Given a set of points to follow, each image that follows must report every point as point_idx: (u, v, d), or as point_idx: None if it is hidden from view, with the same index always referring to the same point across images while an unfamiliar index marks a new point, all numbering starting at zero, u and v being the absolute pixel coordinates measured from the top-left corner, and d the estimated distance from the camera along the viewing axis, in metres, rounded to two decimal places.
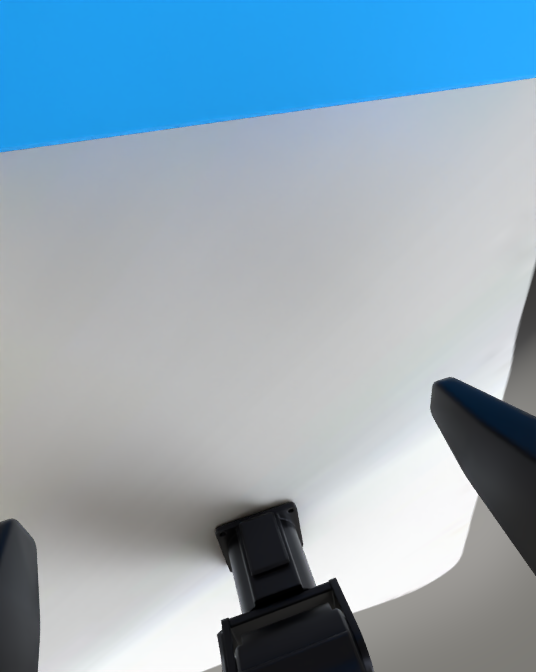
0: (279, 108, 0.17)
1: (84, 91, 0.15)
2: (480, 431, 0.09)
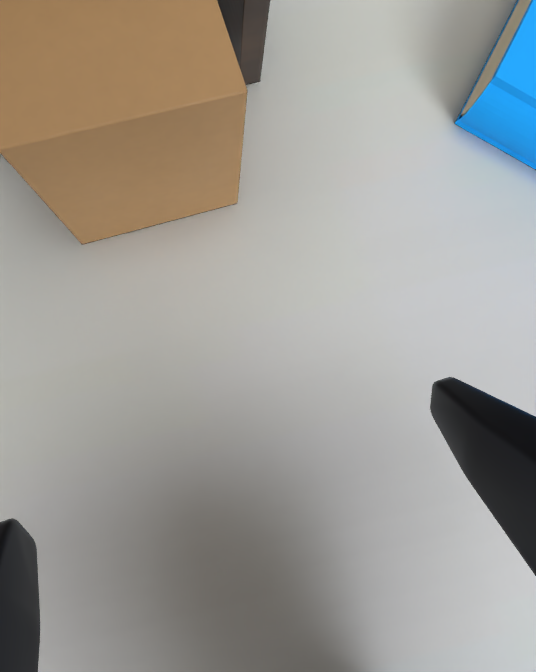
0: None
1: None
2: (480, 431, 0.09)
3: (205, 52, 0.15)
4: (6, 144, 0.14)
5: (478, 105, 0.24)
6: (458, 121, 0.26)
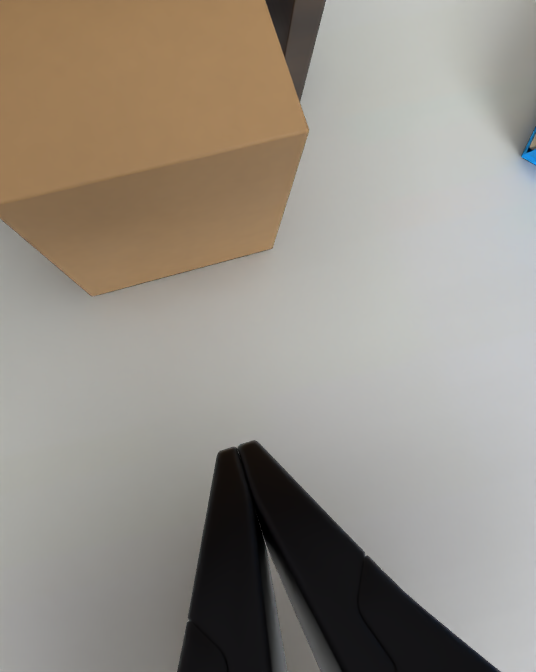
0: None
1: None
2: (256, 508, 0.08)
3: (255, 81, 0.12)
4: None
5: None
6: (526, 154, 0.22)
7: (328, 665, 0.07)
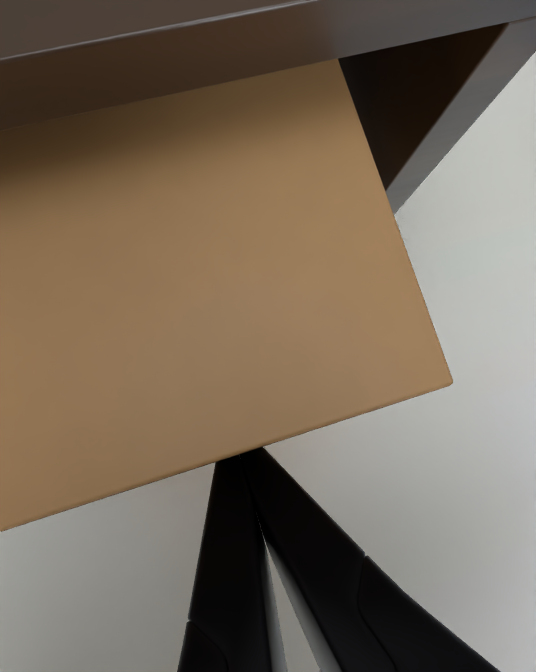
0: None
1: None
2: (257, 508, 0.08)
3: (377, 312, 0.08)
4: (13, 520, 0.07)
5: None
6: None
7: (328, 665, 0.07)
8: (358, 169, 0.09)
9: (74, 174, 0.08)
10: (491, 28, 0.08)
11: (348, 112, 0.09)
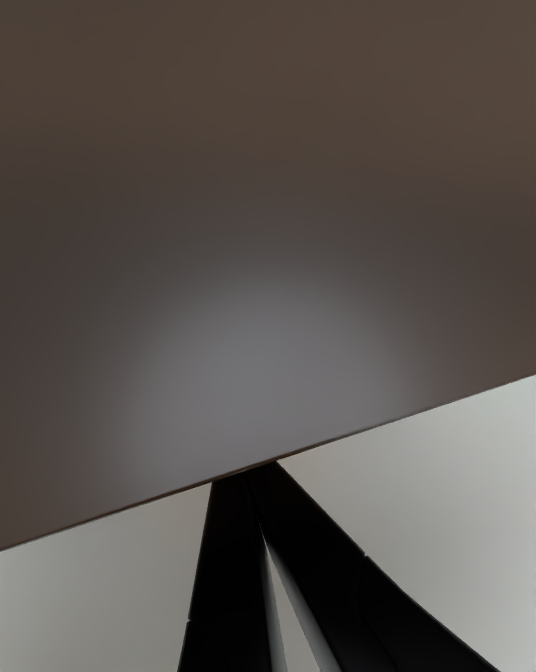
0: None
1: None
2: (256, 508, 0.08)
3: None
4: None
5: None
6: None
7: (328, 665, 0.07)
8: None
9: None
10: None
11: None
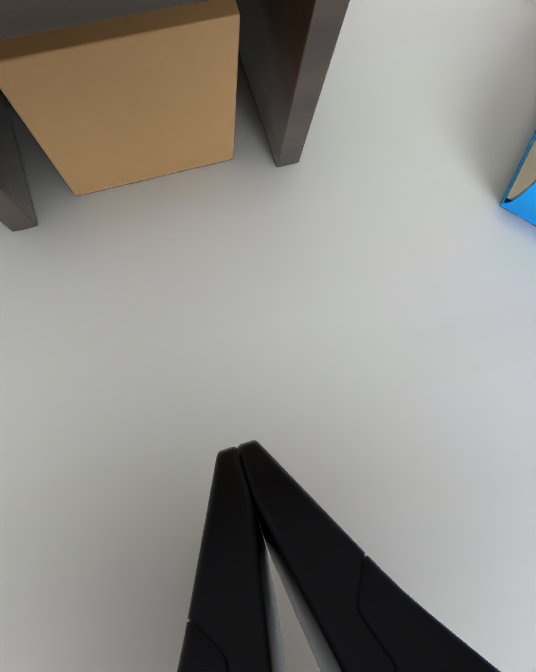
0: None
1: None
2: (257, 508, 0.08)
3: None
4: None
5: (529, 194, 0.23)
6: (504, 204, 0.25)
7: (328, 665, 0.07)
8: None
9: None
10: None
11: None
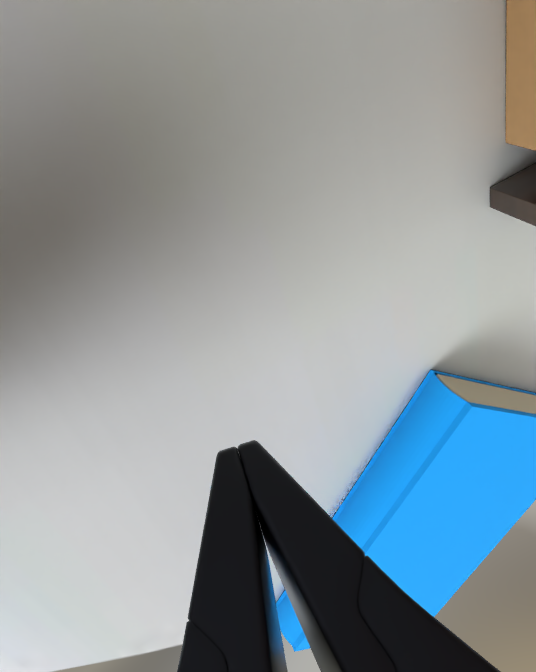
0: (378, 536, 0.33)
1: (438, 471, 0.31)
2: (257, 508, 0.08)
3: None
4: None
5: (448, 393, 0.29)
6: (432, 373, 0.31)
7: (328, 665, 0.07)
8: None
9: None
10: None
11: None
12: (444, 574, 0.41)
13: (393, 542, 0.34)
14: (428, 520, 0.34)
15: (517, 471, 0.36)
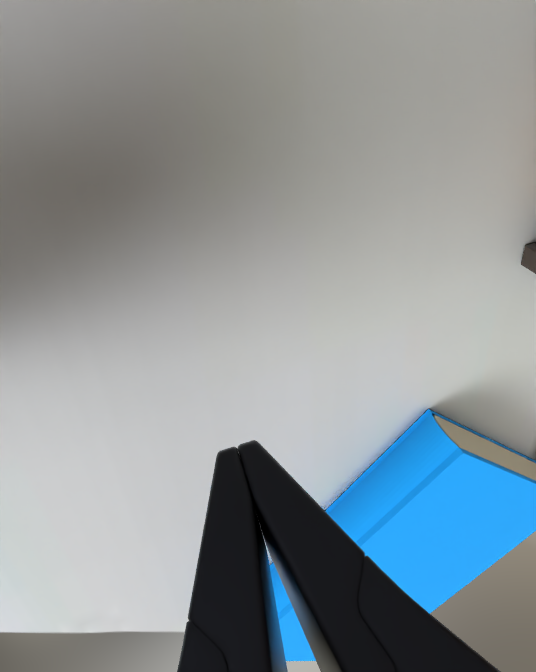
0: None
1: (416, 509, 0.31)
2: (257, 508, 0.08)
3: None
4: None
5: (442, 435, 0.30)
6: (429, 412, 0.32)
7: (328, 665, 0.07)
8: None
9: None
10: None
11: None
12: None
13: None
14: (394, 556, 0.34)
15: (489, 526, 0.36)
